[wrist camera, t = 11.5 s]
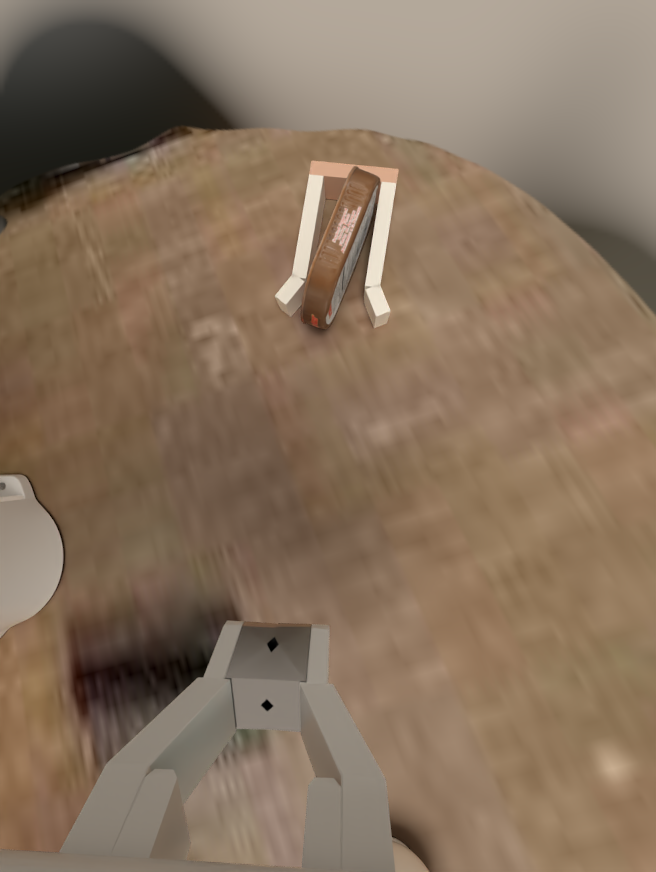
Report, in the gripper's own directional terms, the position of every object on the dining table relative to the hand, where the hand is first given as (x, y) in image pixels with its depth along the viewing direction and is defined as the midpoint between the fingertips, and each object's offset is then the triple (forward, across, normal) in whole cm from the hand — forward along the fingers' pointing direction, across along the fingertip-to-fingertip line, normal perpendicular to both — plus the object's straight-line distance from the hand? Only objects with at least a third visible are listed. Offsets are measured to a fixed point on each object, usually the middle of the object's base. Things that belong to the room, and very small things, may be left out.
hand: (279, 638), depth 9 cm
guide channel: (+34, -2, -17) cm, 38 cm away
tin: (+33, -2, -14) cm, 36 cm away
